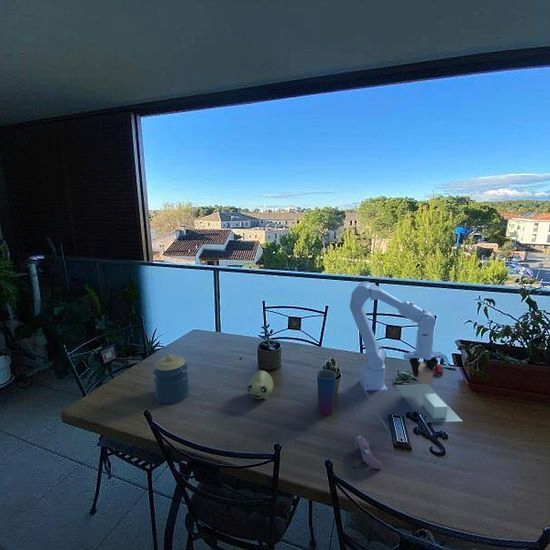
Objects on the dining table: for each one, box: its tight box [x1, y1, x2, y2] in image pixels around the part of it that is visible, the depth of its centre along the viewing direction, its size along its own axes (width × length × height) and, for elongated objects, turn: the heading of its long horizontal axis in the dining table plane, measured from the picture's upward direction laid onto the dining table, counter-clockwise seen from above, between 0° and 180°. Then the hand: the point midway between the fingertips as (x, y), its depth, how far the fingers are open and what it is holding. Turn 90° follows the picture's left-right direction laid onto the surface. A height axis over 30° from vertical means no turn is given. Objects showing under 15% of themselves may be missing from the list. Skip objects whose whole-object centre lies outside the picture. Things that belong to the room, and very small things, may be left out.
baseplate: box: [394, 383, 463, 424], centre depth 124 cm, size 14×24×1 cm, turn 3°
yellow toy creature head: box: [247, 369, 274, 401], centre depth 127 cm, size 10×12×11 cm
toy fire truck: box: [417, 359, 444, 376], centre depth 144 cm, size 3×14×10 cm, turn 84°
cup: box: [316, 369, 337, 417], centre depth 117 cm, size 7×7×15 cm
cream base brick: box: [422, 394, 448, 418], centre depth 117 cm, size 4×8×4 cm, turn 3°
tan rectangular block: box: [410, 362, 434, 385], centre depth 126 cm, size 4×8×4 cm, turn 3°
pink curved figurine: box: [353, 434, 383, 470], centre depth 96 cm, size 10×5×7 cm, turn 5°
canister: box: [152, 353, 190, 405], centre depth 128 cm, size 13×13×18 cm
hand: (421, 375), depth 127 cm, fingers closed on tan rectangular block, 4 cm apart
